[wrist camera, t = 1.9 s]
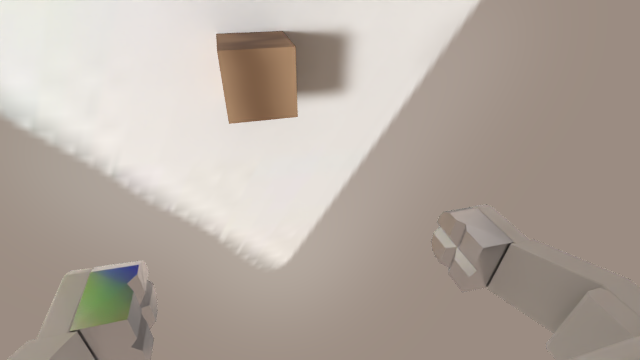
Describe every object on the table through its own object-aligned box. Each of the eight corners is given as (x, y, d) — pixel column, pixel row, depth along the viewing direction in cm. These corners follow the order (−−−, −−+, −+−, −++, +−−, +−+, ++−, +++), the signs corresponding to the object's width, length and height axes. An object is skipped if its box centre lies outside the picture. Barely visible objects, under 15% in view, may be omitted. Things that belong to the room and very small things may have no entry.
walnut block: (282, 30, 26) (295, 46, 22) (285, 92, 28) (297, 116, 25) (216, 33, 24) (217, 50, 21) (226, 97, 27) (229, 123, 23)
